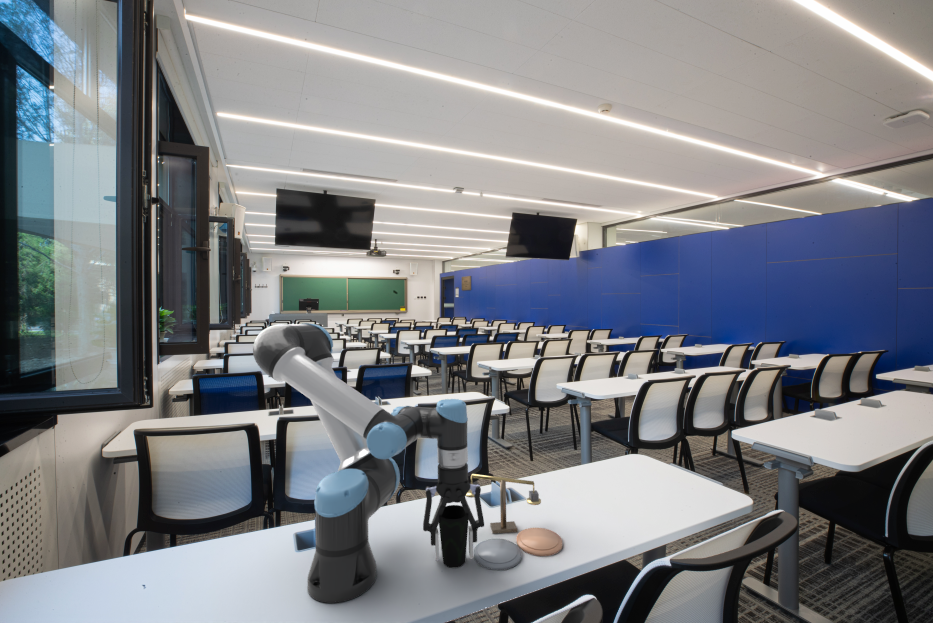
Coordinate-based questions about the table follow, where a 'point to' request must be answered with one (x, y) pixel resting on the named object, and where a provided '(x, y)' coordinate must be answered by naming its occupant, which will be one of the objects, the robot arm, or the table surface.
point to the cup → (453, 535)
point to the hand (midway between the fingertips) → (454, 556)
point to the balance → (503, 525)
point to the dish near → (497, 554)
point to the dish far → (539, 541)
